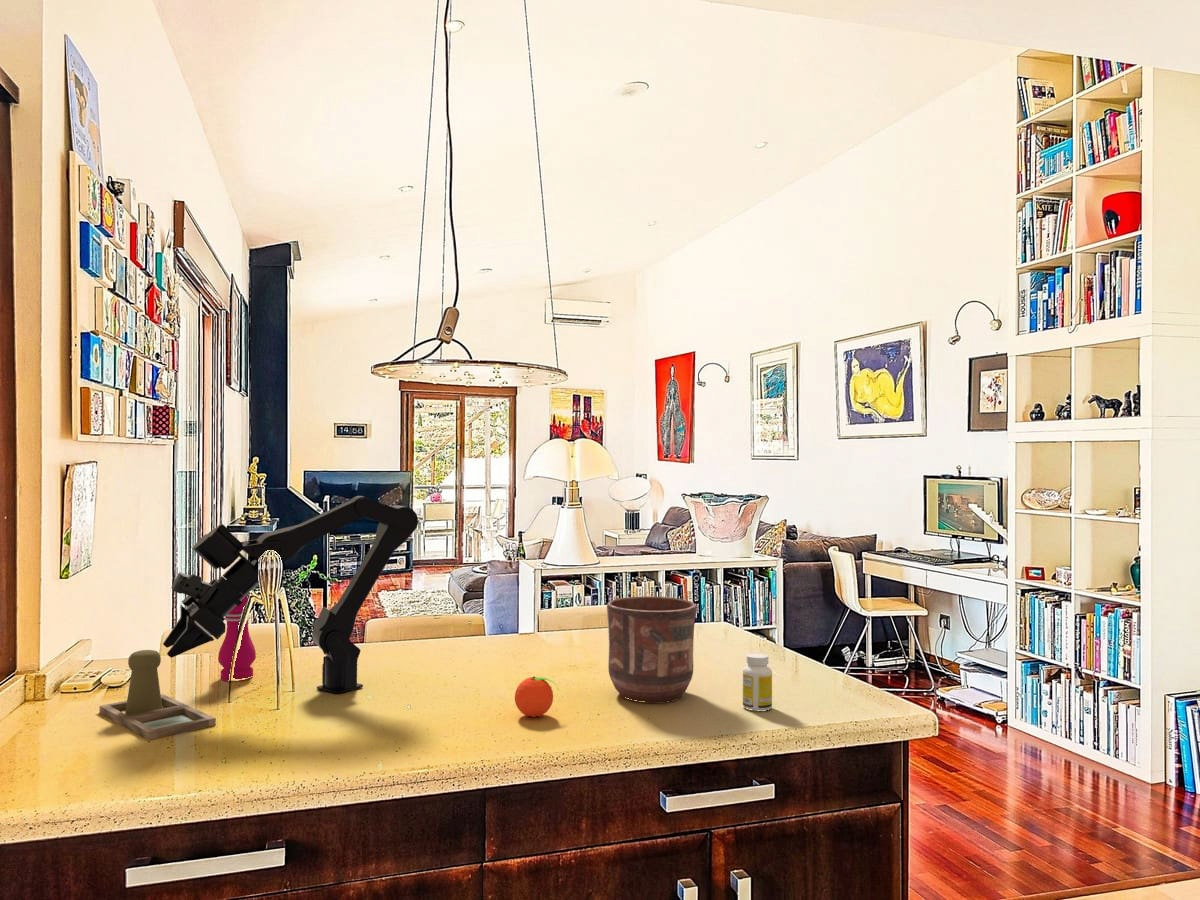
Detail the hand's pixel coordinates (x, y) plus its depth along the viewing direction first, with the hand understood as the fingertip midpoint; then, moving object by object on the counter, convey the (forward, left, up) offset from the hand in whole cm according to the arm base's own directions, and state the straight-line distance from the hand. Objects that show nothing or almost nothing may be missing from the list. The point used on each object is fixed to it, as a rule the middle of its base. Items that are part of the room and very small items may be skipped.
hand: (166, 650), depth 162 cm
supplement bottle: (-89, -61, -11) cm, 108 cm away
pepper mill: (+9, -21, -11) cm, 26 cm away
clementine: (-58, -34, -11) cm, 68 cm away
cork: (+2, +3, -11) cm, 11 cm away
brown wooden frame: (-4, +4, -11) cm, 12 cm away
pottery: (-68, -58, -11) cm, 90 cm away
